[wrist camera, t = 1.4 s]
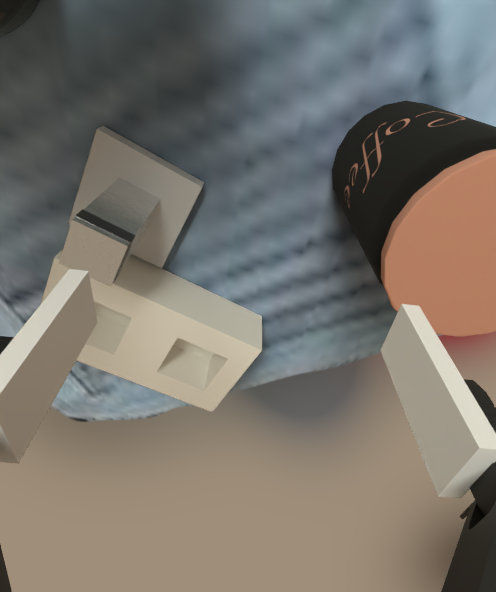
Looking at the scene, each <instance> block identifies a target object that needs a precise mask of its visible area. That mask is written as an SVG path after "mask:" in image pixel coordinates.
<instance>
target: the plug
mask: <svg viewBox="0 0 496 592" xmlns="http://www.w3.org/2000/svg"><path fill="white" fill-rule="evenodd" d="M159 200H160V199H159V198H157V197H156V196H154V195H152V194H150V193H148V192H146V191H144V190H142V189H140V188H139V187H137V186H135V185H133V184H131V183H129V182H127V181H125V180H123V179H122V178H120V177H119V178H118V179H117V180H116V181H115V182H114V183H113V184H111V185H110V186H109V187H108V188H107V189H106V190H105V191H104V192H103V193H101V194H100V195H99V196H98V197H97V198H96V199H95V200H94V201H92V202H91V203H90V204H89V205H88V206H87V207H86V208H85V209H84V210H83V209H82V210H81V211H80V212H79V213H78V214H76V215H75V218H74V219H72V222H71V225H70V228H69V232H68V235H67V238H66V242H65V245H64V248H63V251H62V255H61V258H60V261H59V264H61V265H63V266H65V267H68V268H70V269H73V270H83V271H89V277H90V278H92V279H94V280H97V281H99V282H101V283H103V284H106V285H108V286H110V287H111V285H112V284H113V283H114V282H115V281H116V279H117V277H118V276H119V274H120V271H121V270H122V268H123V267H124V265H125V263H126V262H127V260H128V259H129V257H130V256H131V254H132V252H133V251H134V249H135V248H136V246H137V245H138V243H139V242H140V240H141V238H142V237H143V235H144V234H145V232H146V230H147V227H148V225H149V223H150V220H151V218H152V216H153V214H154V211H155V209H156V207H157V205H158V202H159Z"/></svg>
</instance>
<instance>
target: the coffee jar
mask: <svg viewBox="0 0 496 592" xmlns="http://www.w3.org/2000/svg"><path fill="white" fill-rule="evenodd" d="M332 175H333V189H334V191H335V193H336V196H337V198H338V201H339V203H340V205H341V207H342V209H343V211H344V213H345V215H346V217H347V219H348V221H349V223H350V225H351V227H352V229H353V231H354V233H355V235H356V237H357V239H358V241H359V243H360V245H361V247H362V249H363V251H364V253H365V255H366V257H367V259H368V261H369V263H370V264H371V266H372V268H373V270H374V272H375V274H376V276H377V278H378V280H379V282H380V283H381V284H382V285H383V286H384V288H385V290H386V293H387V295H388V298H389V300H390V303H391V305H392V307H393V308H394V309H395V310H396V311H397V312H398V311H399V308H400V306H401V304H408V305H417V306H420V308H421V310H422V311H423V313H424V315H425V316H426V318H427V320H428V321H429V323H430V325H431V326H432V328H433V330H434V331H435V333H436V334H442V335H450V336H458V337H460V336H469V335H478V334H487V333H492V332H495V331H496V127H494V126H491V125H488V124H485V123H482V122H479V121H476V120H473V119H470V118H467V117H464V116H461V115H458V114H455V113H451V112H448V111H445V110H442V109H439V108H436V107H433V106H430V105H427V104H423V103H416V102H410V101H403V102H398V103H393V104H387V105H384V106H382V107H380V108H378V109H376V110H374V111H373V112H371V113H369V114H367V115H365V116H364V117H363V118H362V119H361V120H360V121H359V122H358V123H357V124H356V125H355V126H354V127H353V128H351V129H350V130H349V131H348V133H347V135H346V136H345V138H344V140H343V141H342V143H341V145H340V147H339V148H338V150H337V153H336V157H335V161H334V165H333V169H332Z"/></svg>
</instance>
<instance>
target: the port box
mask: <svg viewBox="0 0 496 592" xmlns="http://www.w3.org/2000/svg"><path fill="white" fill-rule="evenodd" d="M62 251H63V249H62V250H61V251H60V252H59V253H58V254H57V255H56V256H55V258H54V261H53V264H52V268H51V271H50V275H49V278H48V281H47V285H46V288H45V291H44V295H43V298H42V302H43V301H44V300H45V299H46V297H47V296H48V295H49V294H50V293H51V291H52V290H53V289H54V288H55V286H56V285H57V284H58V283H59V281H60V280H61V279H62V278H63V276H64V275H65V274H66V273H67V271H68V270H69V269H70V268H68V267H65V266H63V265H61V264H59V261H60V258H61V255H62ZM90 283H91V288H92V294H93V300H94V306H95V312H96V318H97V324H96V326H95V328H94V330H93V331H92V333H91V335H90V337H89V338H88V340H87V342H86V344H85V346H84V347H83V349H82V351H81V353H80V355H79V356H78V358H77V361H79V362H82V363H85V364H87V365H90V366H92V367H95V368H98V369H100V370H103V371H106V372H108V373H111V374H113V375H116V376H119V377H121V378H124V379H127V380H129V381H132V382H134V383H137V384H140V385H142V386H145V387H147V388H150V389H153V390H155V391H158V392H161V393H163V394H166V395H168V396H171V397H174V398H176V399H179V400H182V401H184V402H187V403H189V404H192V405H195V406H197V407H200V408H202V409H205V410H208V411H210V412H213V410H214V409H215V408H216V407H217V405H218V404H219V403H220V402H221V400H222V399H223V398H224V397H225V396H226V394H227V393H228V392H229V391H230V389H231V388H232V387H233V386H234V384H235V383H236V382H237V381H238V379H239V378H240V377H241V376H242V375H243V373H244V372H245V371H246V370H247V368H248V367H249V366H250V365H251V363H252V362H253V361H254V360H255V359H256V357H257V356H258V355H259V354H260V352H261V351H262V316H260V315H258V314H256V313H254V312H252V311H250V310H248V309H246V308H244V307H242V306H240V305H237V304H235V303H233V302H231V301H229V300H227V299H225V298H223V297H221V296H219V295H216V294H214V293H212V292H210V291H208V290H206V289H204V288H202V287H200V286H198V285H195V284H193V283H191V282H189V281H187V280H185V279H183V278H181V277H179V276H177V275H174V274H172V273H170V272H168V271H166V270H164V269H162V268H160V267H158V266H156V265H153V264H151V263H149V262H147V261H145V260H143V259H141V258H139V257H137V256H135V255H133V254H131V256H130V257H129V259H128V260H127V262H126V263H125V265H124V267H123V268H122V270H121V271H120V274H119V276H118V277H117V279H116V281H115V282H114V283H113V284H112V285H111V287H110V286H108V285H106V284H103V283H101V282H99V281H97V280H94V279H92V278H90ZM42 302H41V304H42Z"/></svg>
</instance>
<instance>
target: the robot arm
mask: <svg viewBox="0 0 496 592" xmlns="http://www.w3.org/2000/svg"><path fill="white" fill-rule="evenodd" d="M38 2H39V0H0V35H3V34H6V33H8V32H10V31H12V30H14V29H16V28H17V27H19V26H20V25H21V24H22V23H23V22H25V20H26V19H27V18H28V17H29V16H30V15H31V14H32V12H33V11H34V9H35V8H36V6H37V4H38ZM96 324H97V318H96V312H95V306H94V300H93V294H92V288H91V283H90V277H89V271H83V270H73V269H69V270H68V271H67V273H66V274H65V275H64V276H63V278H62V279H61V280H60V281H59V283H58V284H57V285H56V286H55V288H54V289H53V290H52V291H51V293H50V294H49V295H48V296H47V297H46V299H45V300H44V301H43V302H42V304H41V305H40V306H39V307H38V309H37V310H36V311H35V312H34V314H33V315H32V316H31V317H30V318H29V320H28V321H27V322H26V323H25V325H24V326H23V327H22V328H21V330H20V331H19V332H18V333H17V335H16V336H15V337H4V336H0V462H7V463H19V462H20V460H21V458H22V456H23V455H24V453H25V451H26V449H27V448H28V446H29V444H30V442H31V440H32V439H33V437H34V435H35V433H36V431H37V429H38V428H39V426H40V424H41V422H42V421H43V419H44V417H45V415H46V414H47V412H48V410H49V408H50V406H51V405H52V403H53V401H54V399H55V397H56V396H57V394H58V392H59V390H60V389H61V387H62V385H63V383H64V381H65V380H66V378H67V376H68V374H69V372H70V371H71V369H72V367H73V365H74V364H75V362H76V360H77V358H78V356H79V355H80V353H81V351H82V349H83V347H84V346H85V344H86V342H87V340H88V338H89V337H90V335H91V333H92V331H93V330H94V328H95V326H96ZM381 353H382V355H383V358H384V361H385V363H386V366H387V368H388V371H389V373H390V376H391V378H392V381H393V383H394V386H395V389H396V391H397V394H398V396H399V399H400V401H401V404H402V406H403V409H404V411H405V414H406V417H407V419H408V421H409V424H410V427H411V429H412V432H413V434H414V437H415V439H416V442H417V444H418V447H419V450H420V452H421V455H422V457H423V460H424V462H425V465H426V467H427V470H428V473H429V475H430V478H431V480H432V483H433V485H434V488H435V490H436V493H437V495H438V496H440V497H452V498H462V496H463V495H464V494H465V493H466V492H467V491H468V490H469V489H470V490H471V492H472V494H473V496H474V498H475V501H474V502H473V503H472V504H471V505H470V506H469V507H468V508H467V509H466V510H465V511H464V512H463V513H462V514H461V516H460V517H461V518H462V519H464V518H465V517H466V516H467V518H466V521H465V524H464V527H463V530H462V532H461V535H460V539H459V541H458V544H457V547H456V550H455V553H454V556H453V559H452V562H451V565H450V568H449V571H448V574H447V577H446V580H445V582H444V585H443V588H442V591H441V592H496V408H495V407H494V404H493V403H492V401H491V399H490V398H489V396H488V395H487V393H486V392H485V391H484V390H483V389H482V388H481V387H480V386H479V385H478V384H477V383H476V382H474V381H473V380H465V379H463V378H462V377H461V375H460V373H459V371H458V370H457V368H456V366H455V365H454V363H453V362H452V360H451V358H450V357H449V355H448V353H447V351H446V350H445V348H444V346H443V345H442V343H441V341H440V340H439V338H438V336H437V335H436V333H435V331H434V330H433V328H432V326H431V325H430V323H429V321H428V320H427V318H426V316H425V315H424V313H423V311H422V310H421V308H420V306H417V305H408V304H401V306H400V308H399V311H398V313H397V315H396V317H395V320H394V322H393V324H392V326H391V328H390V331H389V333H388V335H387V337H386V339H385V342H384V344H383V346H382V348H381ZM0 592H12V591H11V587H10V582H9V579H8V575H7V570H6V566H5V562H4V558H3V554H2V550H1V545H0Z"/></svg>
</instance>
